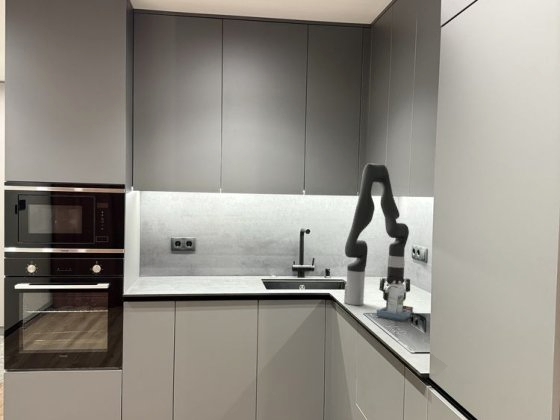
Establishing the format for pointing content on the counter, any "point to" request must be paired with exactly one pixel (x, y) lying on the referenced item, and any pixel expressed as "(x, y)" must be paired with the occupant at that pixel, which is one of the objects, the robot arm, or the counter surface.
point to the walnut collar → (408, 308)
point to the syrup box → (395, 298)
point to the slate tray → (393, 314)
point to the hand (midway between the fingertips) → (394, 300)
